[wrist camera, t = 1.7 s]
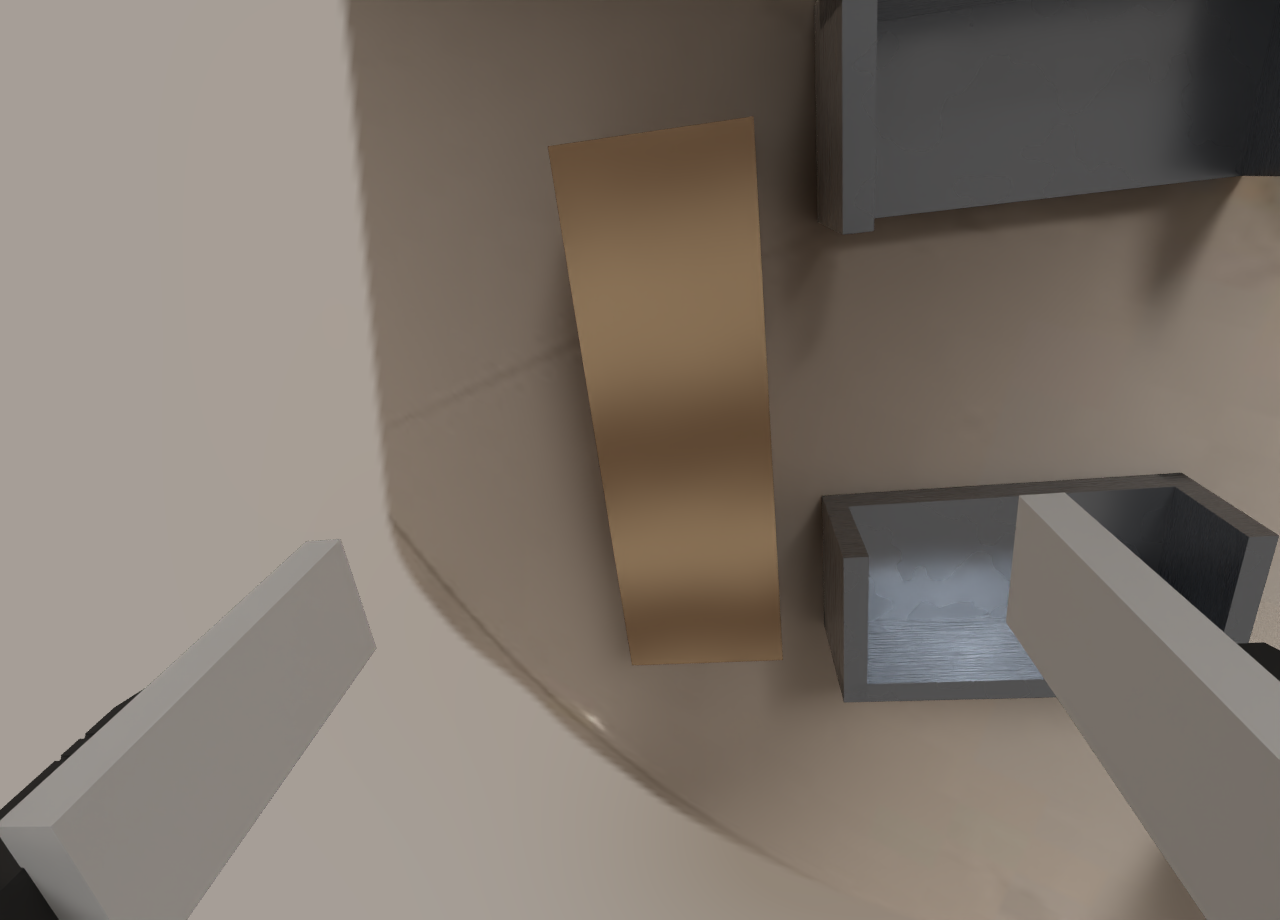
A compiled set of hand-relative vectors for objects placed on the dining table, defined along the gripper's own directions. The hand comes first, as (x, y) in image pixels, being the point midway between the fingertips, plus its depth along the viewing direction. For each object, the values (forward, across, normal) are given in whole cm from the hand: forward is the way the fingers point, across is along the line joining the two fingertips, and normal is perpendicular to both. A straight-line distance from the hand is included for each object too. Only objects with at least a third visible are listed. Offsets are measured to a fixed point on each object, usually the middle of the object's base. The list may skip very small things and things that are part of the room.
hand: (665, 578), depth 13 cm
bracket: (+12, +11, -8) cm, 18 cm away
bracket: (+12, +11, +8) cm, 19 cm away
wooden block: (+13, 0, 0) cm, 13 cm away
